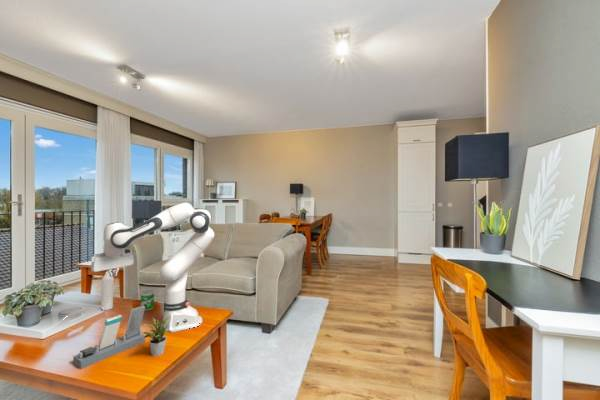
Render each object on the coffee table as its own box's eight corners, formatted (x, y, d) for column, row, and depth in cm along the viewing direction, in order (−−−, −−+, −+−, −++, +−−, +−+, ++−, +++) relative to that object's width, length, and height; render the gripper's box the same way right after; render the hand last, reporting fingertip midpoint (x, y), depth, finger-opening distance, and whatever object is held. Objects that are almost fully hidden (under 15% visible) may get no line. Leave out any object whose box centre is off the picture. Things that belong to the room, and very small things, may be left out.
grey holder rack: (136, 337, 141) (136, 327, 141) (144, 341, 137) (145, 331, 137) (73, 362, 118) (73, 350, 118) (81, 369, 114) (81, 356, 114)
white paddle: (112, 341, 128) (120, 314, 125) (114, 343, 127) (122, 316, 124) (97, 347, 123) (105, 319, 120) (99, 349, 122) (107, 321, 119)
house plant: (154, 342, 136) (155, 310, 136) (180, 344, 134) (180, 312, 134) (134, 358, 121) (135, 323, 122) (162, 361, 120) (163, 325, 120)
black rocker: (90, 349, 122) (90, 346, 122) (96, 350, 119) (96, 347, 119) (80, 353, 119) (80, 350, 119) (86, 354, 116) (85, 352, 116)
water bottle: (103, 311, 173) (104, 273, 174) (98, 309, 177) (99, 271, 177) (118, 307, 181) (119, 270, 181) (113, 305, 184) (114, 269, 185)
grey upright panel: (137, 332, 138) (143, 305, 135) (138, 333, 137) (145, 306, 135) (124, 336, 133) (131, 309, 130) (126, 338, 132) (132, 310, 129)
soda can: (139, 309, 177) (139, 291, 177) (151, 306, 183) (151, 289, 183) (142, 312, 172) (143, 294, 172) (155, 309, 178) (155, 291, 178)
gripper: (93, 255, 137) (93, 282, 137) (135, 249, 155) (135, 273, 154) (88, 254, 140) (88, 280, 140) (129, 248, 158) (129, 271, 158)
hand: (113, 276), depth 147 cm, fingers closed
